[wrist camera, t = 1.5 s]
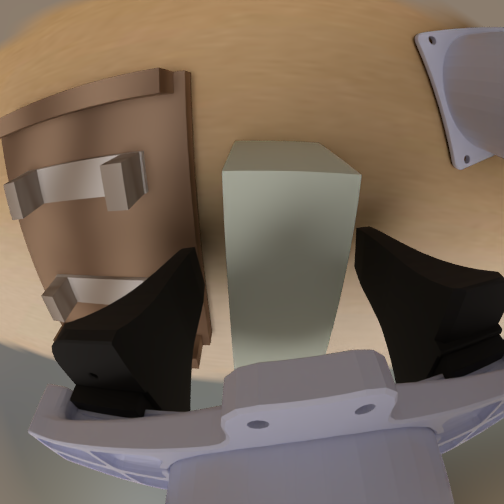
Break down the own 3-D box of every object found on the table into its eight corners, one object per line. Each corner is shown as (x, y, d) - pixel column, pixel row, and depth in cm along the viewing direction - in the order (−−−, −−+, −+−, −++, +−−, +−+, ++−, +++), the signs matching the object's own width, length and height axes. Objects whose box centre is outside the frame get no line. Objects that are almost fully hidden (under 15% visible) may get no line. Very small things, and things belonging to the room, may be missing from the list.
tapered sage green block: (318, 142, 13) (361, 174, 8) (304, 291, 17) (320, 370, 12) (235, 140, 13) (221, 170, 8) (239, 292, 17) (234, 372, 12)
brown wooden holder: (190, 72, 11) (169, 65, 8) (212, 332, 19) (206, 372, 16) (12, 119, 11) (-27, 131, 8) (70, 320, 19) (52, 351, 16)
